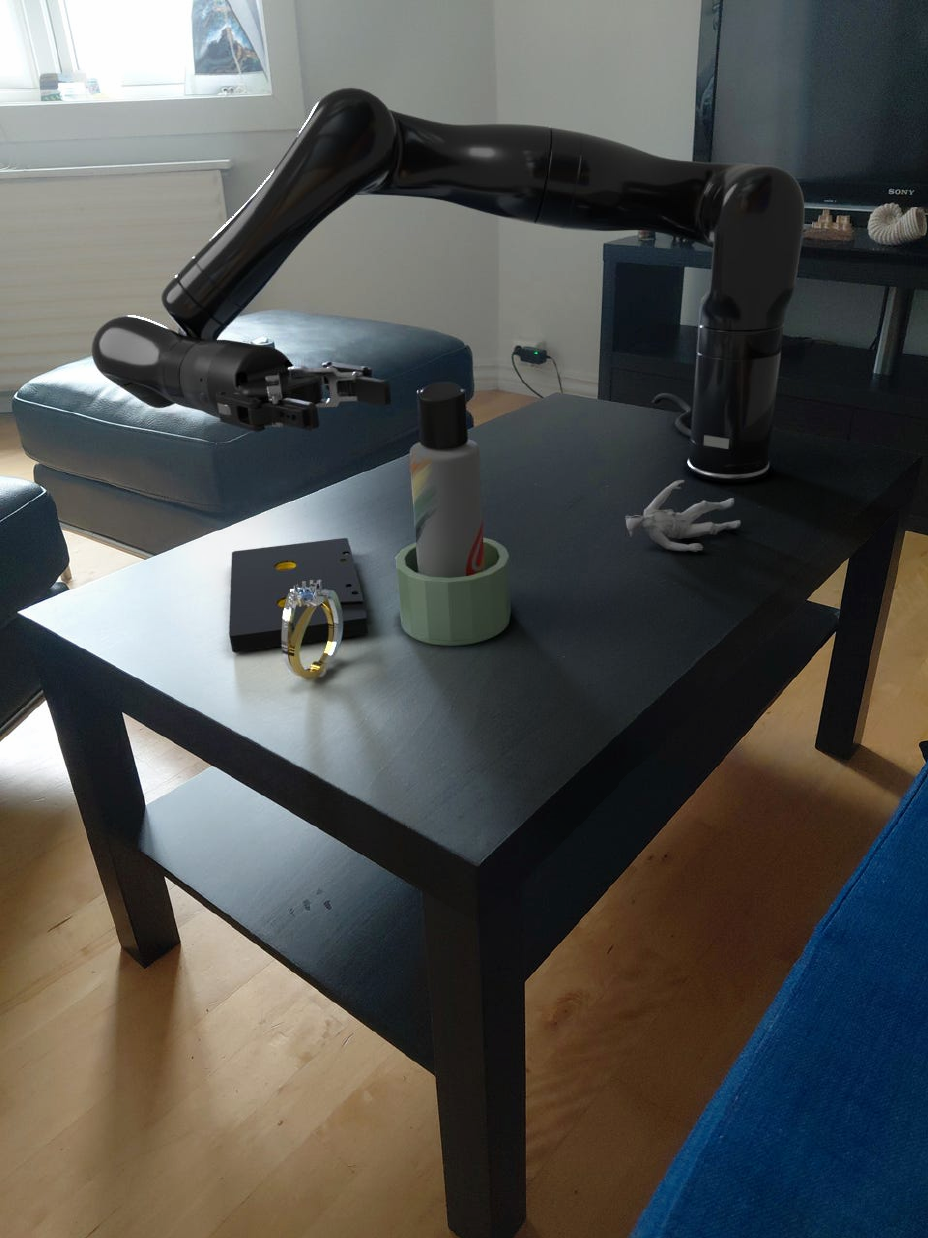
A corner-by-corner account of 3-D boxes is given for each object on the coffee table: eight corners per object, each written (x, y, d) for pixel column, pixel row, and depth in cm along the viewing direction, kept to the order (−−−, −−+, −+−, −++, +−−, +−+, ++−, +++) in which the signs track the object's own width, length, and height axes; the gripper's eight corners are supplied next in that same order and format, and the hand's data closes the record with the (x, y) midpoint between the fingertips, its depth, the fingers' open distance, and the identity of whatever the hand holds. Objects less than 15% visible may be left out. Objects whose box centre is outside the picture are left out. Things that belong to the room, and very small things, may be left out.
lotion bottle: (494, 602, 84) (486, 378, 75) (473, 632, 80) (463, 397, 70) (435, 595, 86) (420, 376, 77) (411, 624, 82) (392, 394, 72)
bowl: (397, 600, 87) (391, 540, 84) (499, 589, 88) (497, 529, 85) (406, 651, 78) (400, 586, 76) (519, 639, 79) (518, 574, 77)
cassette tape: (369, 637, 81) (366, 614, 80) (232, 655, 79) (228, 633, 78) (349, 554, 97) (347, 534, 96) (234, 568, 95) (231, 548, 94)
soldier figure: (750, 551, 95) (665, 543, 89) (716, 570, 99) (631, 563, 92) (730, 482, 98) (645, 469, 91) (697, 503, 101) (613, 492, 95)
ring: (328, 650, 79) (317, 564, 75) (360, 658, 78) (350, 571, 74) (276, 691, 74) (260, 600, 70) (308, 701, 72) (295, 608, 69)
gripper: (166, 357, 85) (282, 380, 75) (289, 328, 94) (406, 344, 84) (182, 439, 88) (295, 470, 79) (299, 402, 98) (412, 426, 88)
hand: (352, 405), depth 81 cm, fingers open, 8 cm apart
